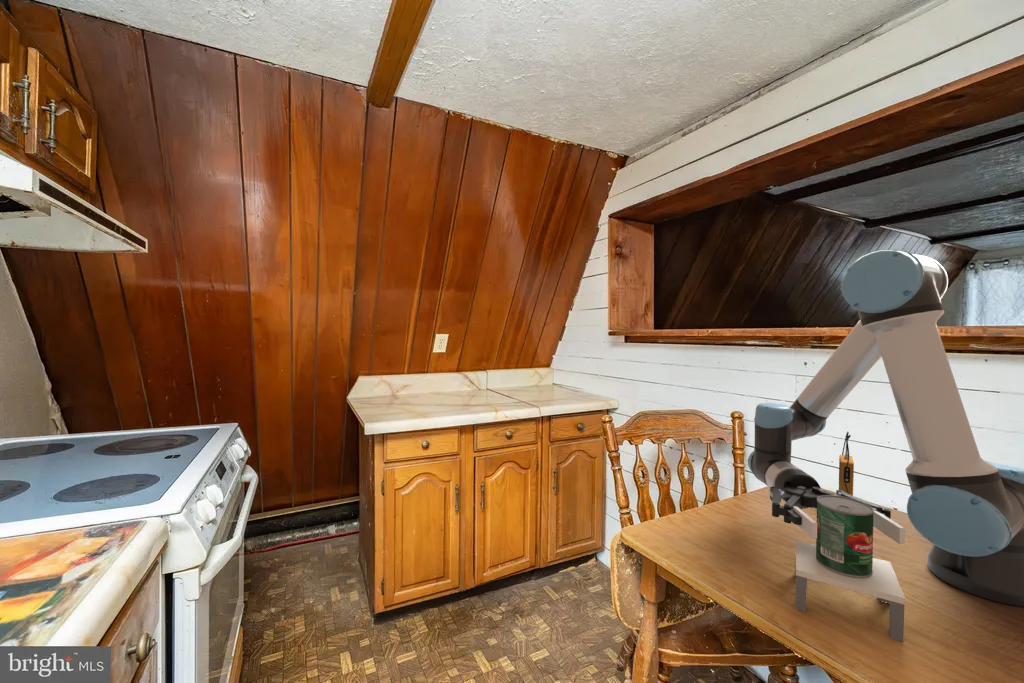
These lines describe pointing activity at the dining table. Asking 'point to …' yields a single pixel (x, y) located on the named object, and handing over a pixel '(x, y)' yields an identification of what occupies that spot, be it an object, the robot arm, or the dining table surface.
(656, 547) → the dining table surface
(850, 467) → the multimeter
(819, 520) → the canned tomato
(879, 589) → the shelf
